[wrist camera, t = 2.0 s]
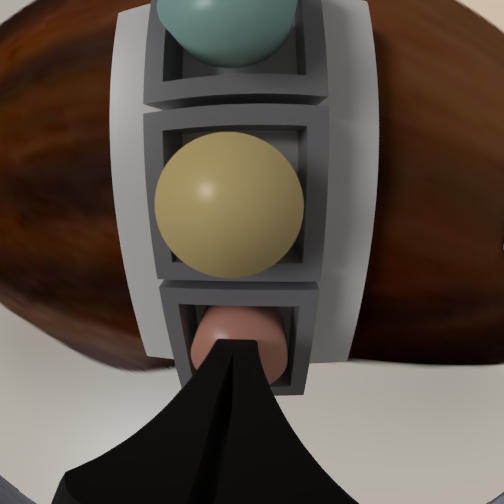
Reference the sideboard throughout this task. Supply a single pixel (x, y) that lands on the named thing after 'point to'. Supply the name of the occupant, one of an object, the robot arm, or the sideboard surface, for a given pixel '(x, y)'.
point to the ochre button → (229, 205)
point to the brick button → (244, 334)
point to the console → (277, 135)
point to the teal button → (228, 28)
